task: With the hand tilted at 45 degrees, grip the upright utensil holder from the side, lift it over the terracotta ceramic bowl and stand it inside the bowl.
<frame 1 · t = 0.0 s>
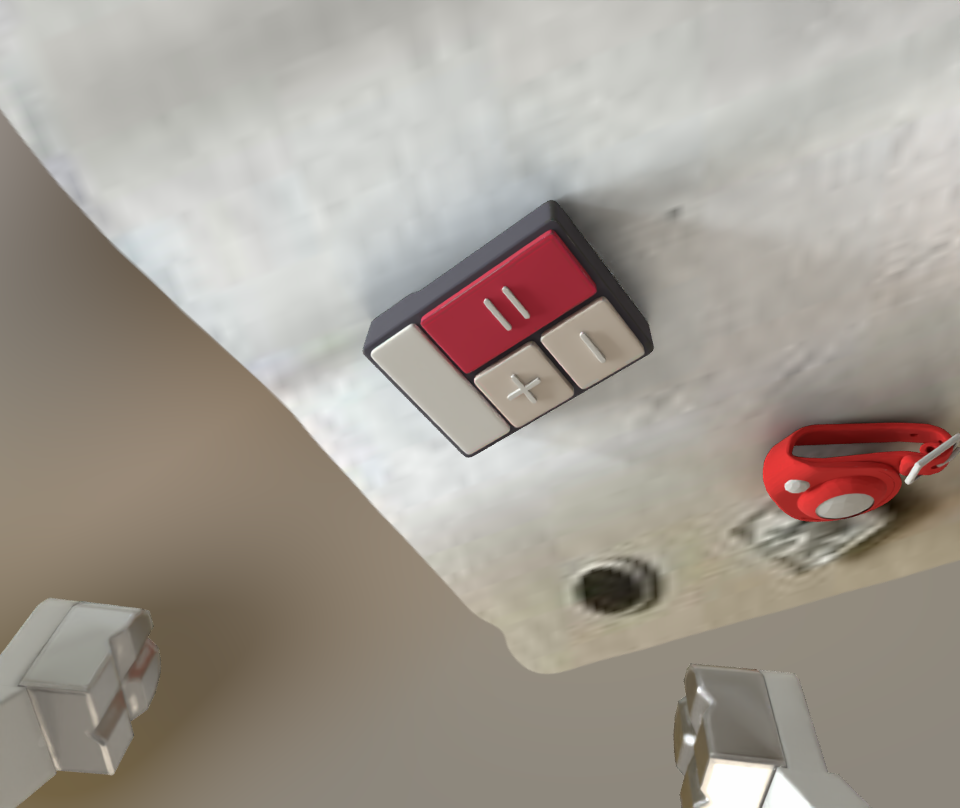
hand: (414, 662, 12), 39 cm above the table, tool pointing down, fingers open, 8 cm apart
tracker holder: (852, 458, 58), on the table
calculator: (508, 321, 54), on the table
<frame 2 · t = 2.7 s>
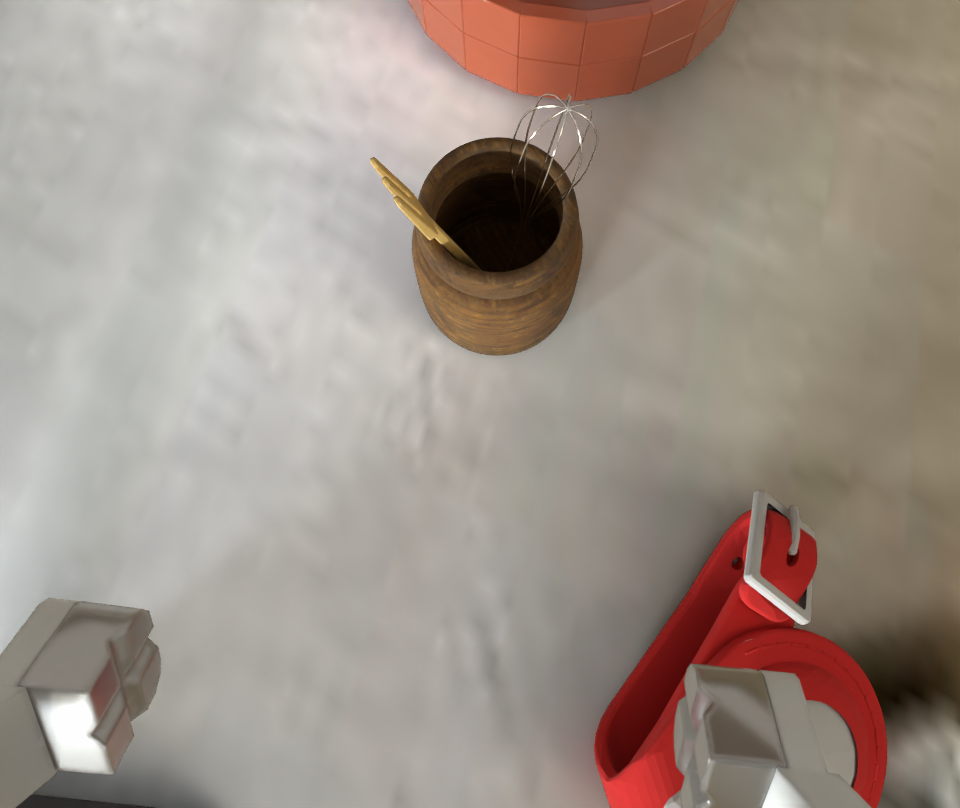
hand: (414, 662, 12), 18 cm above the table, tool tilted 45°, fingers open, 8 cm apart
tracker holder: (751, 689, 29), on the table
utensil holder: (494, 291, 33), on the table
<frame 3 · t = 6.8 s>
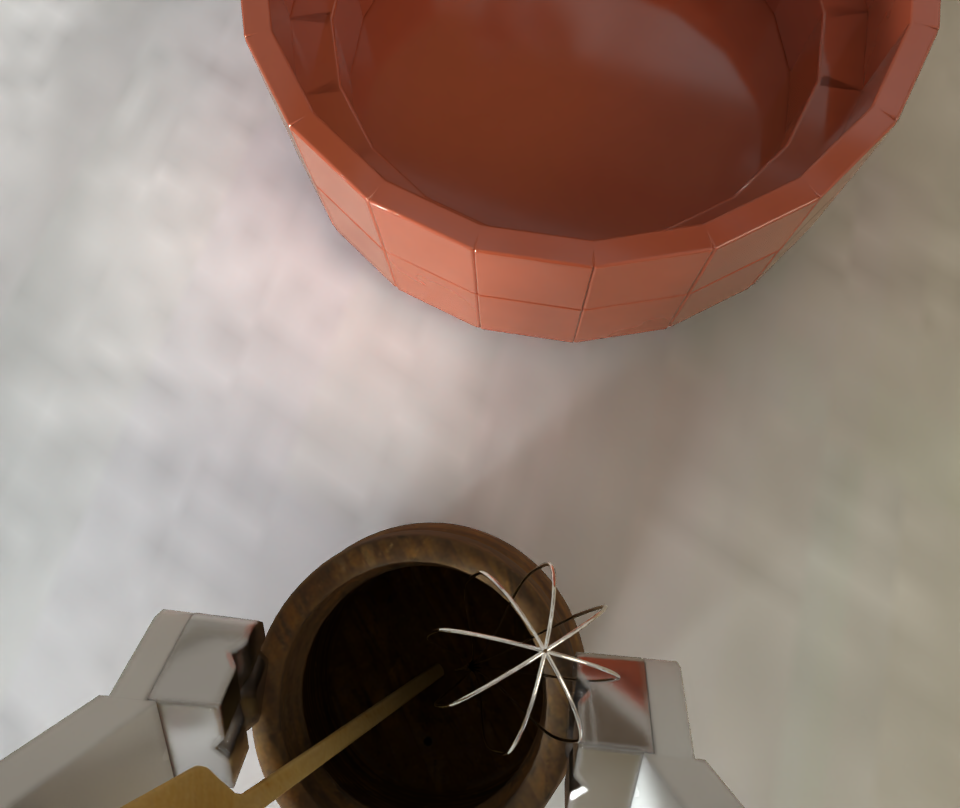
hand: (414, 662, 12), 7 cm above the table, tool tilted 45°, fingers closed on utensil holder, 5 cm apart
utensil holder: (441, 667, 20), on the table, touching gripper
bowl: (566, 93, 23), on the table
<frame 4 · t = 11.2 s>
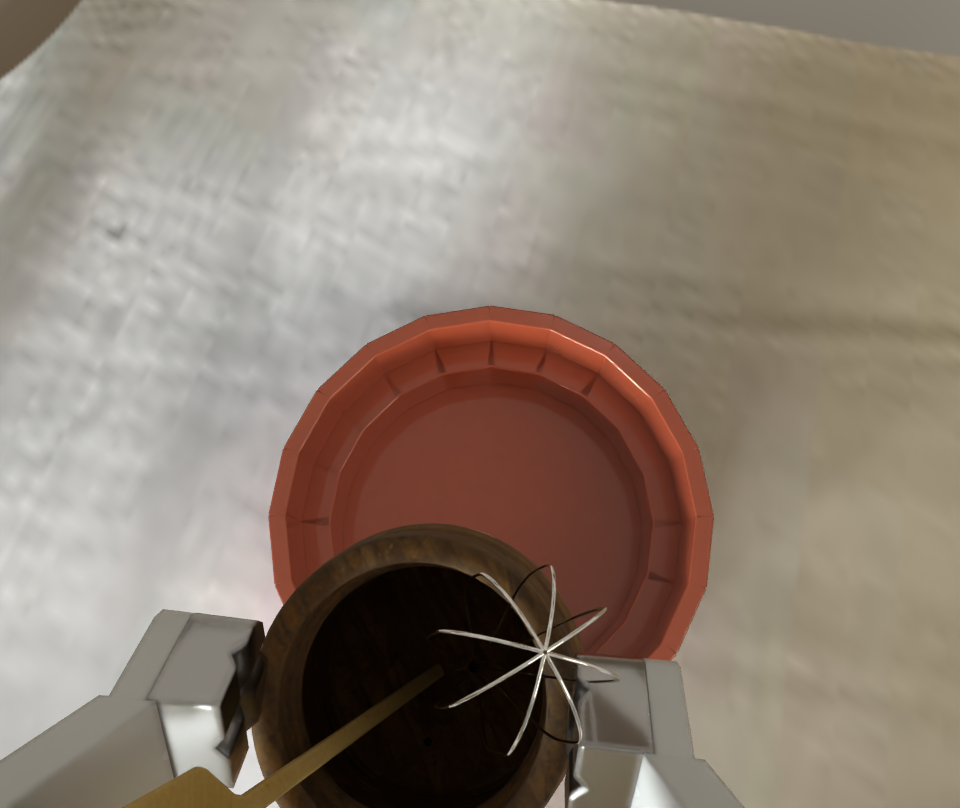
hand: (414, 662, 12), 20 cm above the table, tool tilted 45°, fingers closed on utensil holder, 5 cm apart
utensil holder: (441, 667, 20), point 13 cm above the table, touching gripper
bowl: (491, 529, 33), on the table
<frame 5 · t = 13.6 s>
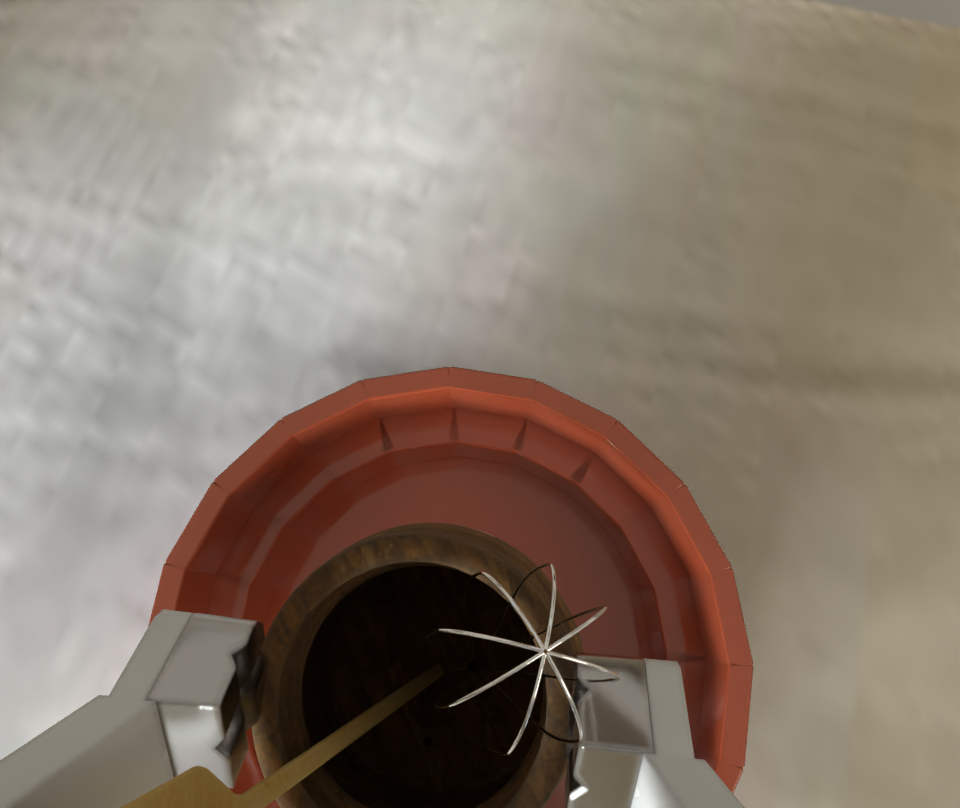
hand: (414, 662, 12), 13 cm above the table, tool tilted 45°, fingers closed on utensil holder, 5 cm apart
utensil holder: (441, 667, 20), point 6 cm above the table, touching gripper
bowl: (455, 648, 25), on the table
when the fingers open (8 cm above the table, at t = 15.6 s): utensil holder stays where it is, resting on bowl.
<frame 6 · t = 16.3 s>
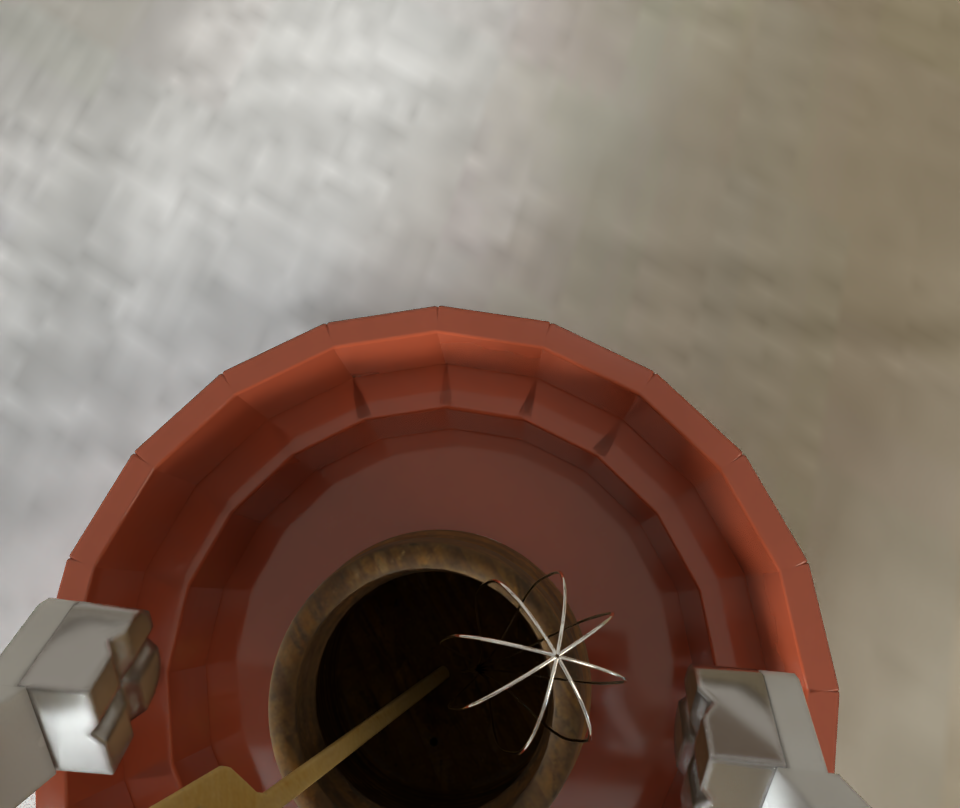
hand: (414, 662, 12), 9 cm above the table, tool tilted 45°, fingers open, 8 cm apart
utensil holder: (447, 669, 20), point 1 cm above the table, touching bowl
bowl: (449, 664, 21), on the table
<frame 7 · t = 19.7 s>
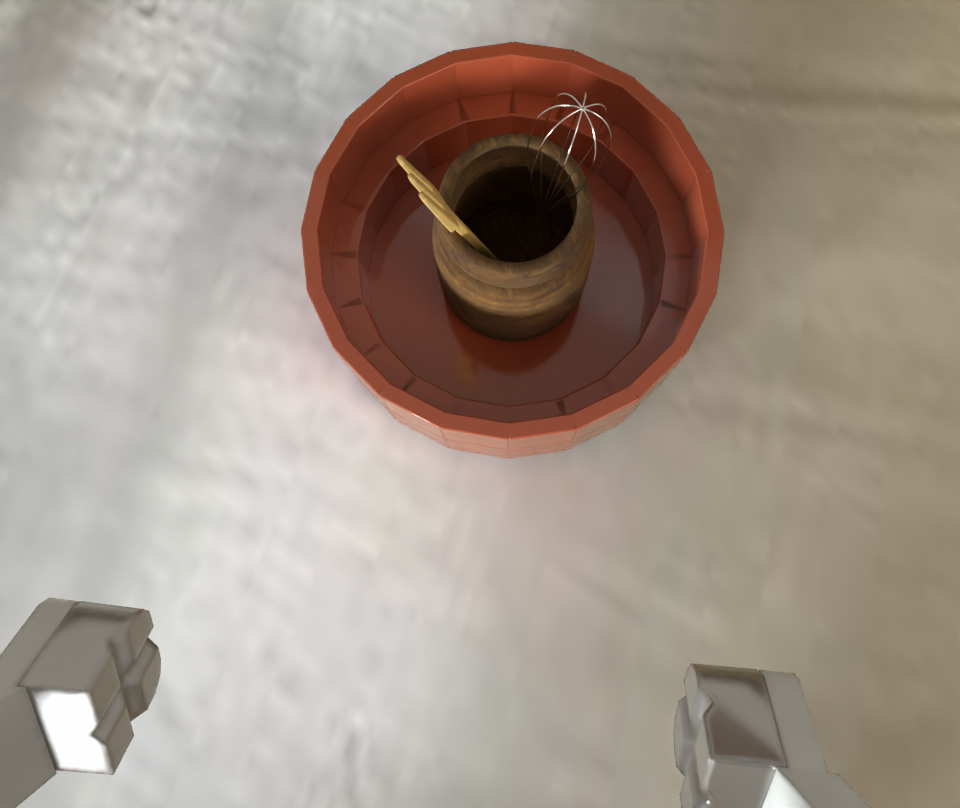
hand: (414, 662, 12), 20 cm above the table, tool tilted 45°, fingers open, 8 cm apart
utensil holder: (509, 279, 34), point 1 cm above the table, touching bowl
bowl: (510, 283, 35), on the table
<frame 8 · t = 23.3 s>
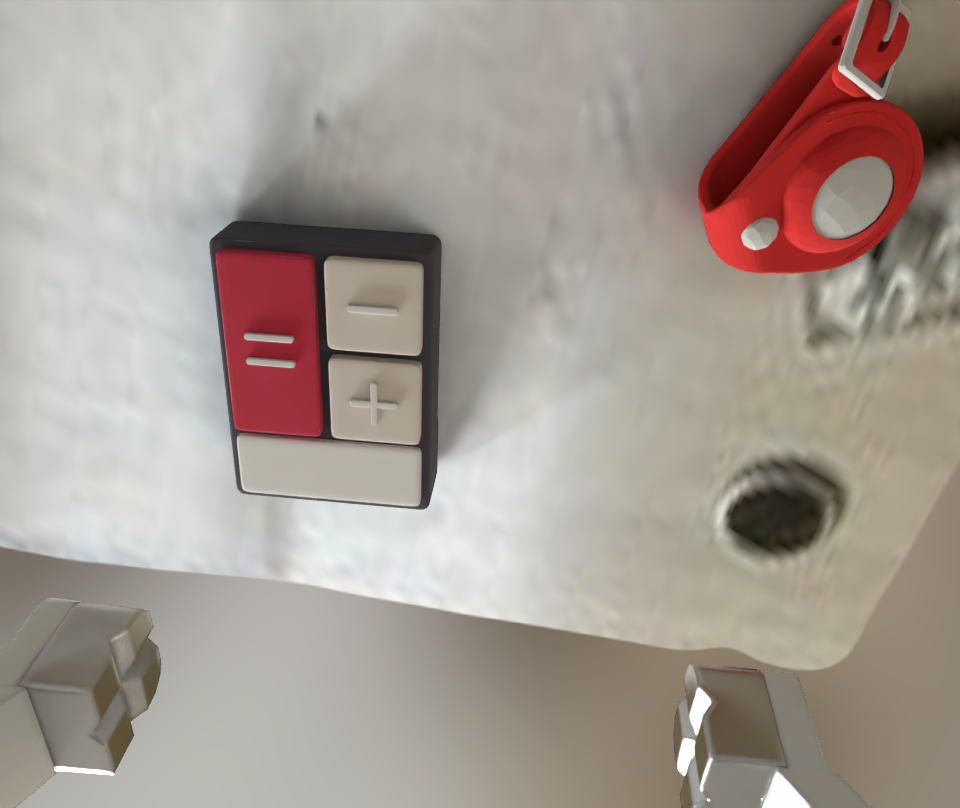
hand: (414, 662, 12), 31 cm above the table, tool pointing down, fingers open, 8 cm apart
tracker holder: (825, 138, 38), on the table
calculator: (342, 354, 46), on the table
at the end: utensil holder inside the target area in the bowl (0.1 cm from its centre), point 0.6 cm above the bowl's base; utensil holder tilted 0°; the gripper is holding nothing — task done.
